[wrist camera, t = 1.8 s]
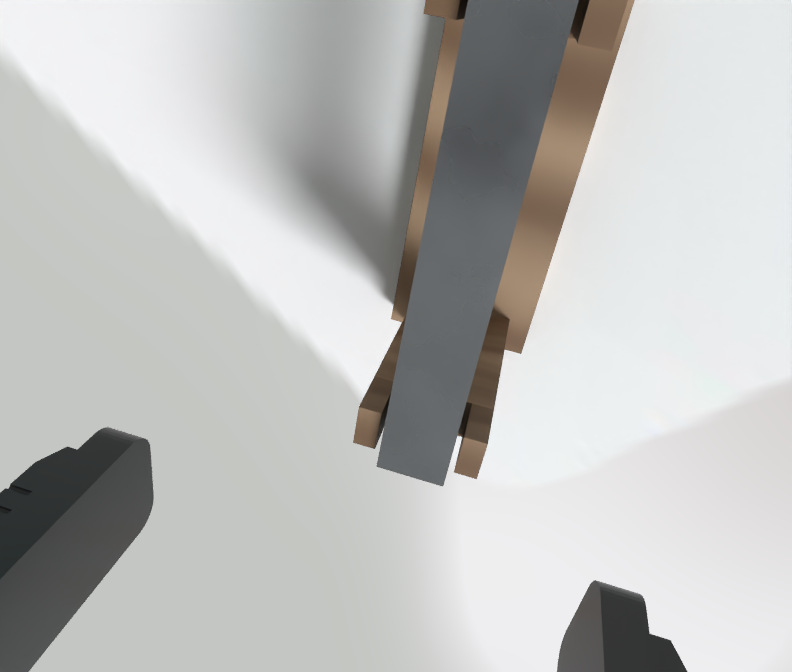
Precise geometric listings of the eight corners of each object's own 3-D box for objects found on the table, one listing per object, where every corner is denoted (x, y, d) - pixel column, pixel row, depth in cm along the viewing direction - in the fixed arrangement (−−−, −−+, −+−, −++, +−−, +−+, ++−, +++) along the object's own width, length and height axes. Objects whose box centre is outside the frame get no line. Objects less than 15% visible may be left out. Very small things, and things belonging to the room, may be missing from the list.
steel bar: (495, -70, 19) (483, -81, 16) (592, -54, 18) (596, -62, 16) (393, 425, 29) (376, 466, 26) (454, 443, 29) (443, 486, 26)
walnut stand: (462, -45, 28) (396, -74, 17) (635, -13, 27) (682, -22, 16) (396, 308, 38) (327, 434, 27) (522, 341, 37) (503, 487, 26)
